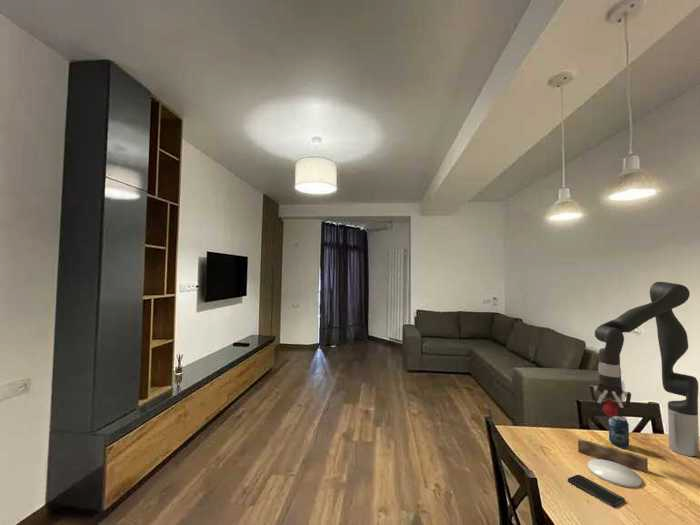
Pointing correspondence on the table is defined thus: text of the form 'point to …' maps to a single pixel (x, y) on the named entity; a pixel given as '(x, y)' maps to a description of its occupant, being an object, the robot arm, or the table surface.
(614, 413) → the onion
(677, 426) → the robot arm
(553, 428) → the table surface
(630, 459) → the wooden plank
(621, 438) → the soda can
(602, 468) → the plate
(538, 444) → the table surface
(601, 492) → the phone
